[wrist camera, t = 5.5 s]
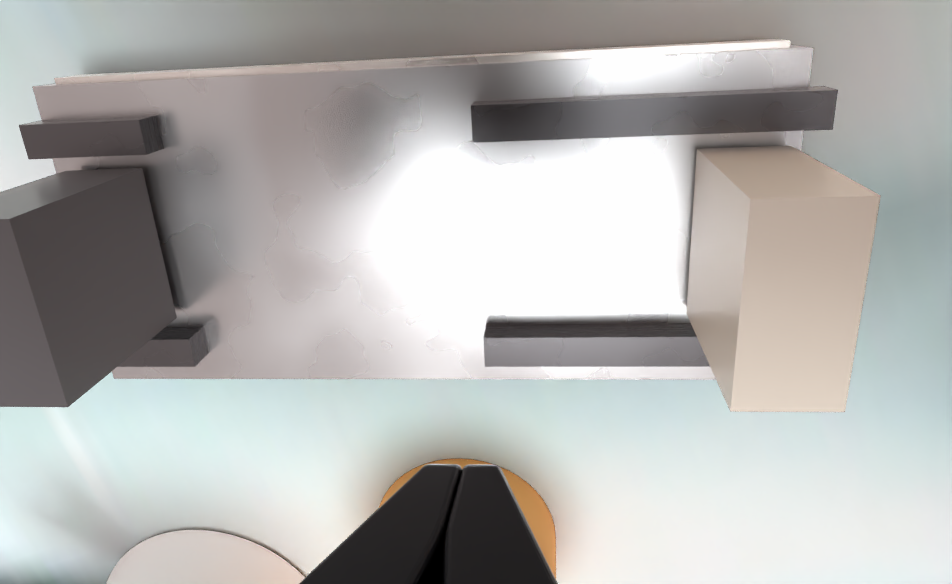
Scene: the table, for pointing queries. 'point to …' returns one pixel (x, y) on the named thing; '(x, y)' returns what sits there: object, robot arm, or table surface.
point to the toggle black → (76, 283)
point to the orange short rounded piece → (525, 497)
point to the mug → (202, 561)
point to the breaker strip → (430, 204)
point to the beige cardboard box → (778, 276)
